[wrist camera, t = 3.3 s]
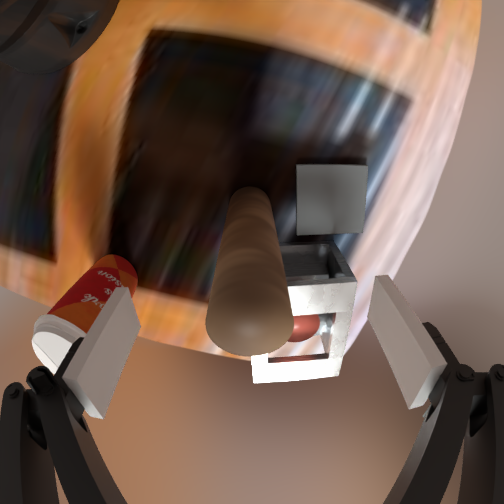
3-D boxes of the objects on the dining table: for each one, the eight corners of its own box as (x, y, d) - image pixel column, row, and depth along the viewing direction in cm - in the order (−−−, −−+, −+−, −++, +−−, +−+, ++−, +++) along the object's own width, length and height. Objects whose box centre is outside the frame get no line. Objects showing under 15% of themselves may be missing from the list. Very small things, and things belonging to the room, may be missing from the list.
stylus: (230, 226, 29) (212, 357, 14) (227, 187, 27) (199, 292, 12) (271, 224, 29) (292, 354, 14) (269, 185, 27) (295, 288, 12)
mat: (296, 232, 29) (297, 235, 29) (296, 164, 26) (297, 165, 26) (360, 230, 29) (362, 232, 29) (365, 164, 26) (368, 166, 25)
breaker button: (313, 321, 31) (317, 340, 28) (272, 324, 31) (274, 343, 28) (315, 288, 29) (321, 306, 26) (272, 291, 29) (274, 309, 26)
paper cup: (154, 300, 33) (116, 394, 21) (101, 302, 33) (53, 384, 21) (136, 241, 30) (75, 326, 17) (80, 247, 30) (13, 322, 17)
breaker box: (324, 327, 35) (338, 375, 28) (252, 332, 35) (253, 382, 28) (333, 240, 30) (357, 281, 23) (247, 244, 30) (246, 288, 23)
